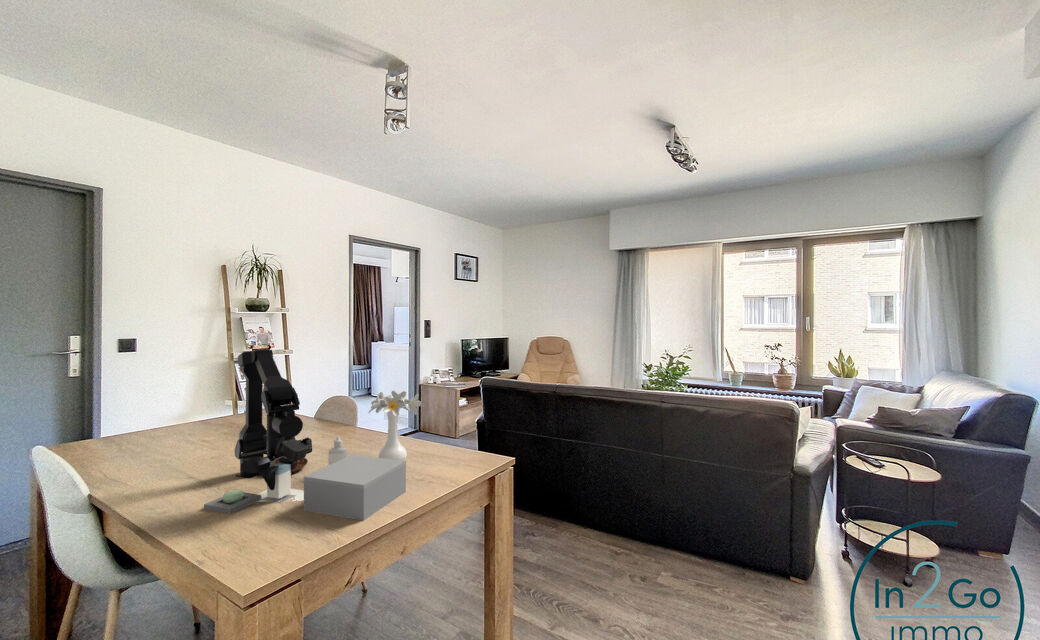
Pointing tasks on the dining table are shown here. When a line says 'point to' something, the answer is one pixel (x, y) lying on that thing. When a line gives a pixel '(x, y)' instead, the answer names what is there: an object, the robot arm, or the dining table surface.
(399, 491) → the grey rectangular slab
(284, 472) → the white blue upright block
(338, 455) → the eye dropper bottle
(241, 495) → the button
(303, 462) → the cup and saucer
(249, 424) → the robot arm
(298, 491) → the paper sheet
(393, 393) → the flower vase
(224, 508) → the button housing
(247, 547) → the dining table surface
